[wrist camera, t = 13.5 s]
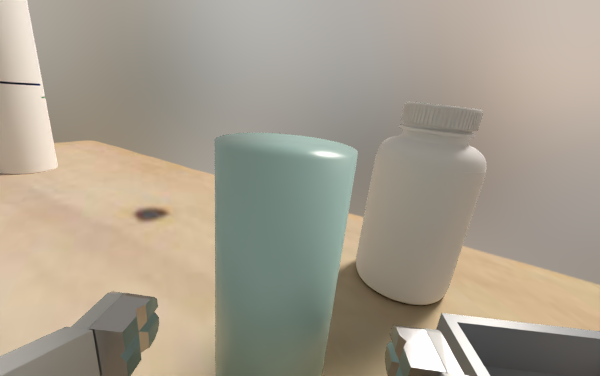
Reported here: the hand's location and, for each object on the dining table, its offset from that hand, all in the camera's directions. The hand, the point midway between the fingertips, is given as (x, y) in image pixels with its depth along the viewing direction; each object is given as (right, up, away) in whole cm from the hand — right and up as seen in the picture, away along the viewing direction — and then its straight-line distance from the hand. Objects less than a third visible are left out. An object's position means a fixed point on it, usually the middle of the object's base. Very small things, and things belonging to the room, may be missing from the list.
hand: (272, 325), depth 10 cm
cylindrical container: (-42, +8, +34) cm, 54 cm away
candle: (-1, -6, +4) cm, 7 cm away
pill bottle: (+10, -3, +16) cm, 19 cm away
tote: (+14, -10, -3) cm, 17 cm away
